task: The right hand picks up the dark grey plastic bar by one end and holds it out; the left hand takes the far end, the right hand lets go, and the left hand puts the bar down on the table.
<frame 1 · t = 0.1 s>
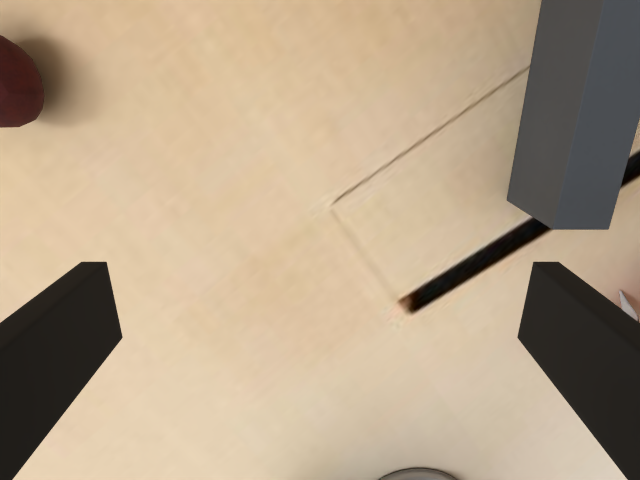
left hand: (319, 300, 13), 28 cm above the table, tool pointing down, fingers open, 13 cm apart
bar: (553, 73, 36), on the table
potato: (21, 81, 36), on the table
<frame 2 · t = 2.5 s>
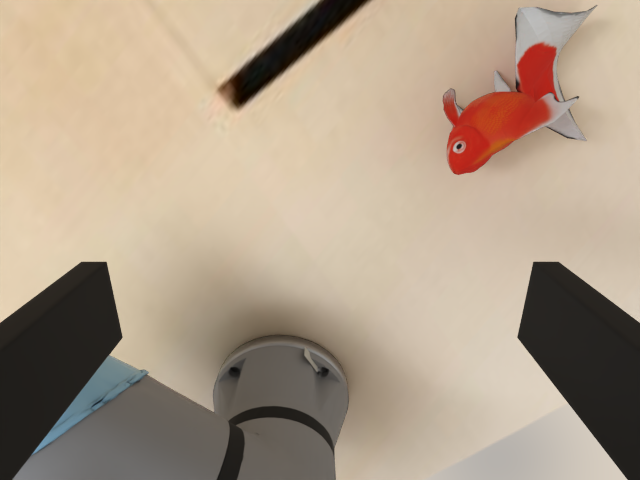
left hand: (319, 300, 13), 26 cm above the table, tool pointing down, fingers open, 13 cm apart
fish: (498, 88, 35), on the table
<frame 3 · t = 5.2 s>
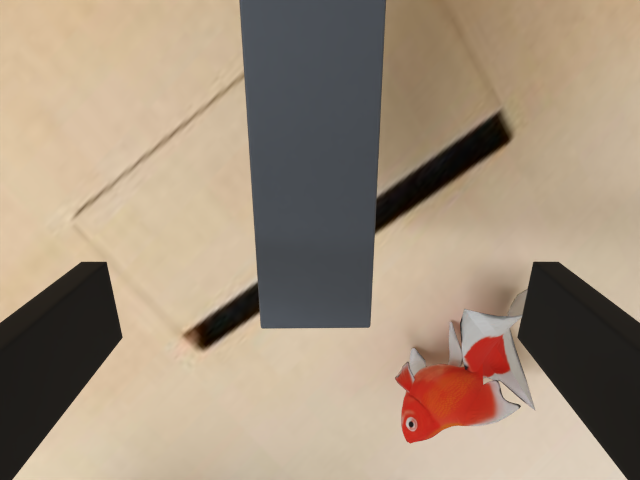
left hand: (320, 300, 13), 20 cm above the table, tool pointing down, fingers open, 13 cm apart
fish: (454, 333, 36), on the table
bar: (314, 34, 20), point 8 cm above the table, touching right hand
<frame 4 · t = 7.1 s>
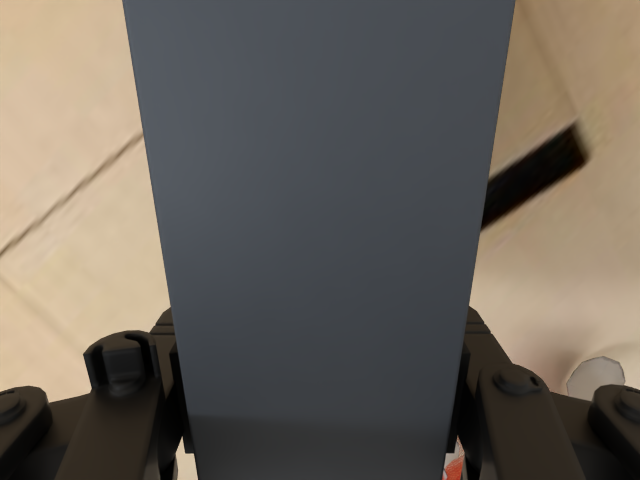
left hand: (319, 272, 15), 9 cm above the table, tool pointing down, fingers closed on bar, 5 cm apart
fish: (495, 407, 28), on the table
bar: (318, 3, 12), point 8 cm above the table, touching left hand, right hand
when the right hand's fingers open (12 cm above the table, at t = 7.9 s): bar stays where it is, held by the left hand.
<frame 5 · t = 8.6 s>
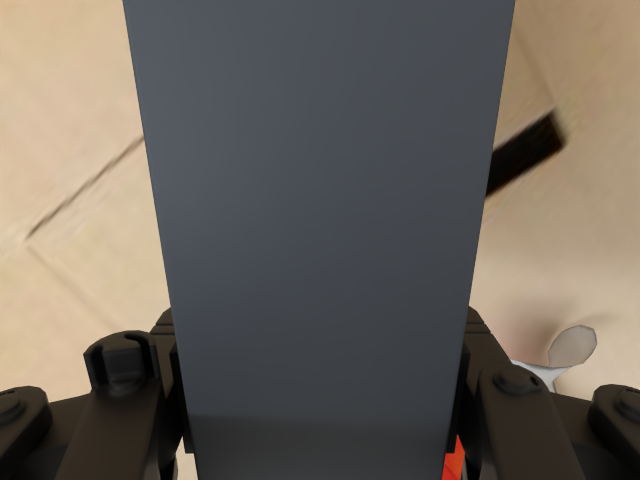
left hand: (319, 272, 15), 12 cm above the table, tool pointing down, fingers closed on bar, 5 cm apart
fish: (483, 373, 31), on the table
bar: (319, 3, 12), point 11 cm above the table, touching left hand
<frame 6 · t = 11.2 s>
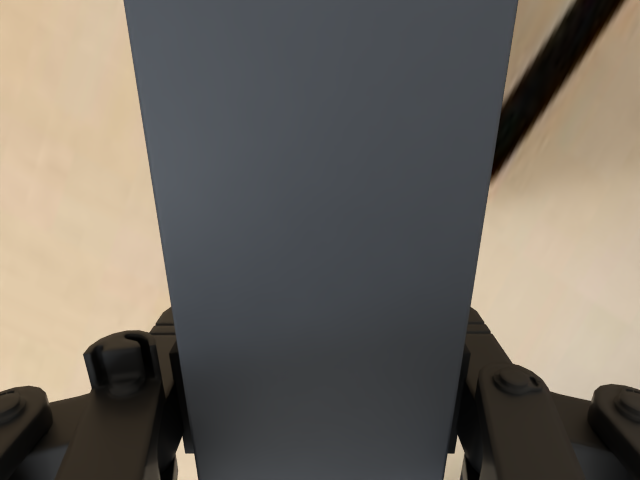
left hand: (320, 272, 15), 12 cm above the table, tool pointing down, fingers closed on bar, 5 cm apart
bar: (320, 1, 12), point 12 cm above the table, touching left hand
when the left hand's fingers open (2 cm above the table, at t = 15.5 s): bar drops 1 cm, on the table.
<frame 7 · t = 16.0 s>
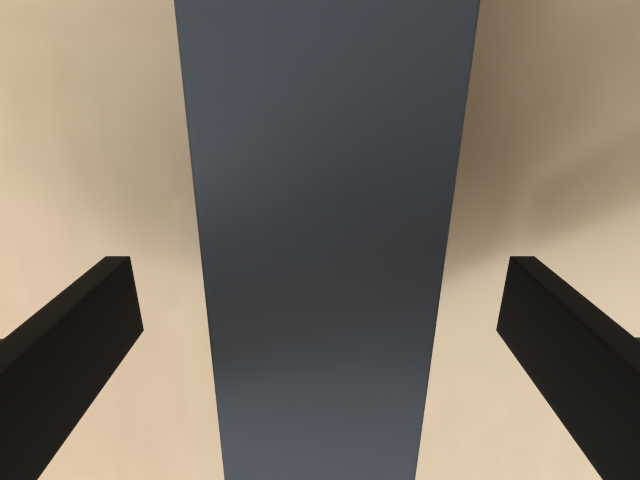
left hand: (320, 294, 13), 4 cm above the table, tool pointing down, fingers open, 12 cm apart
bar: (323, 15, 14), on the table
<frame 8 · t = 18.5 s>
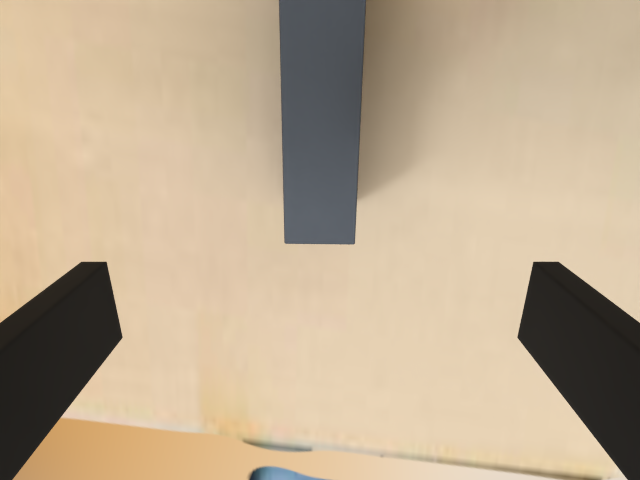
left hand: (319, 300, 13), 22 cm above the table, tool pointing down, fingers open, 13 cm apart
bar: (321, 52, 30), on the table
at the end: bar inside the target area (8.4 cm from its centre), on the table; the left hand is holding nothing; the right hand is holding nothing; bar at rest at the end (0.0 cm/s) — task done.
